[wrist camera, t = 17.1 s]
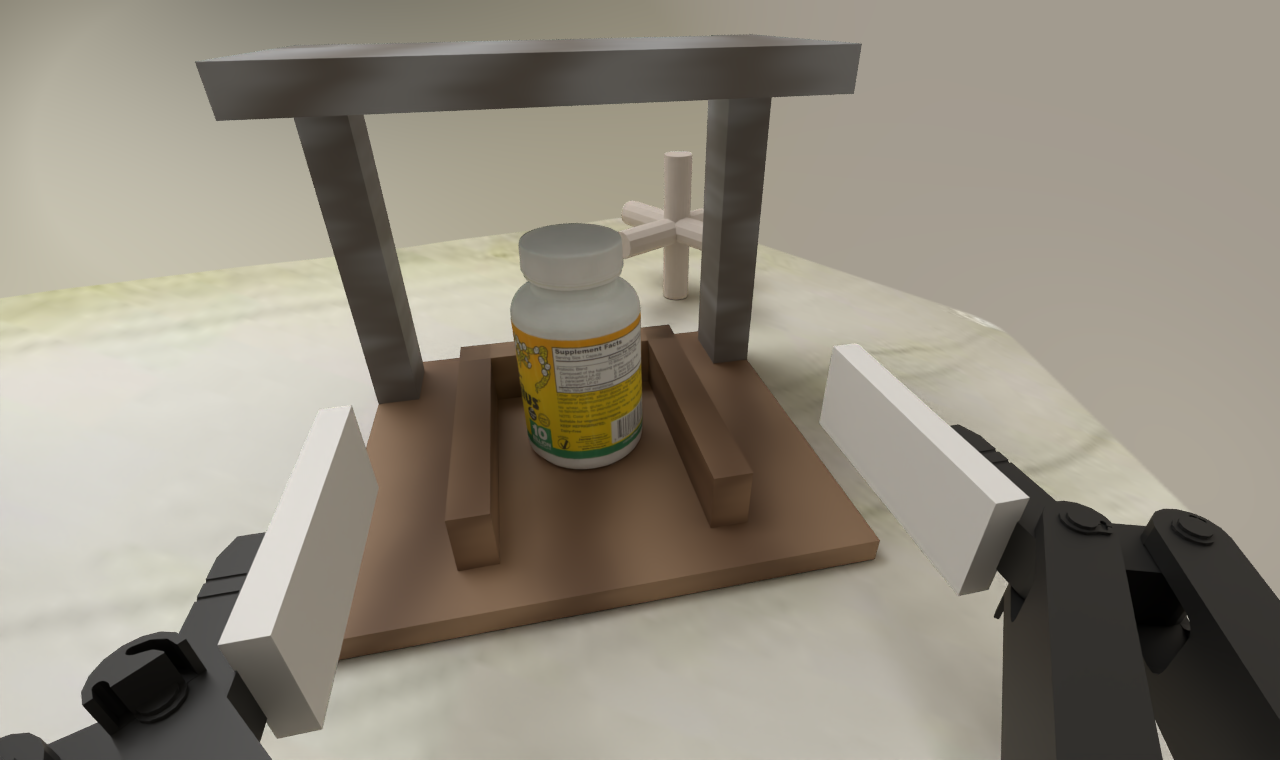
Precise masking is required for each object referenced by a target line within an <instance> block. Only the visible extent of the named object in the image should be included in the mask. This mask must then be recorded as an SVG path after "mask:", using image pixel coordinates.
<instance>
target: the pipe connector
mask: <svg viewBox="0 0 1280 760" xmlns="http://www.w3.org/2000/svg"><path fill="white" fill-rule="evenodd" d="M691 175H692V153H690V152H684V151H672V152H667V153H665V156H664V210H663V209H660V208H656V207H653V206H650V205H647V204H643V203H640V202H637V201H632V200H630V201H628V202H627V203H625V205H624V207H623V208H622V214H621V216H622V220H623V222H625V223H626V224H627V225H630V226H633V228H629V229H626V230H622V231H619V232H618V233H619V234H620V236H621V238H622V254H623V259H627V258H630V257H633V256H636V255H640V254H643V253H646V252H649V251H652V250H655V249H659V248H662V247H664V270H663V295H664V297H666V298H668V299H673V300H679V299H683V298H686V297H687V295H688V269H689V246H690V247H693V248H696V249H699V250H701V251H702V236H703V213H704V208H701V209H697V210H694V211H690V207H691V177H692V176H691Z"/></svg>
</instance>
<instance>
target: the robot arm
mask: <svg viewBox="0 0 1280 760" xmlns="http://www.w3.org/2000/svg"><path fill="white" fill-rule="evenodd" d="M819 424H820V425H821V426H822V427H823V429H824V430H825V431H826V432H827V434H828V435H829V436H830V437H831V439H832V440H833V441H834V442H835V444H836V445H837V446H838V447H839V449H840V450H841V451H842V452H843V453H844V455H845V456H846V457H847V458H848V460H849V461H850V462H851V463H852V465H853V466H854V467H855V468H856V470H857V471H858V472H859V473H860V475H861V476H862V477H863V478H864V480H865V481H866V482H867V483H868V485H869V486H870V487H871V488H872V490H873V491H874V492H875V493H876V495H877V496H878V497H879V498H880V500H881V501H882V502H883V503H884V504H885V506H886V507H887V508H888V509H889V511H890V512H891V513H892V514H893V516H894V517H895V518H896V519H897V521H898V522H899V523H900V524H901V526H902V527H903V528H904V529H905V531H906V532H907V533H908V534H909V536H910V537H911V538H912V539H913V541H914V542H915V543H916V544H917V546H918V547H919V548H920V549H921V551H922V552H923V553H924V554H925V555H926V557H927V558H928V559H929V560H930V562H931V563H932V564H933V565H934V567H935V568H936V569H937V570H938V572H939V573H940V574H941V575H942V577H943V578H944V579H945V580H946V582H947V583H948V584H949V585H950V587H951V588H952V589H953V590H954V592H955V593H956V594H957V595H958V596H961V595H965V594H970V593H975V592H980V591H984V590H989V587H990V585H991V583H992V581H993V578H994V576H995V574H996V572H997V571H998V572H999V573H1000V574H1001V575H1002V576H1003V577H1004V578H1005V579H1006V581H1007V582H1008V583H1009V584H1008V586H1007V588H1006V590H1005V592H1004V594H1003V596H1002V599H1001V601H1000V603H999V605H998V607H997V609H996V612H995V614H994V618H997V619H999V618H1000V616H1001V614H1002V612H1004V627H1003V682H1002V737H1001V760H1163V758H1162V753H1161V748H1160V743H1159V738H1158V733H1157V728H1156V723H1157V725H1158V727H1159V729H1160V731H1161V733H1162V735H1163V737H1164V740H1165V742H1166V744H1167V746H1168V748H1169V750H1170V752H1171V754H1172V756H1173V759H1174V760H1280V600H1279V599H1278V597H1277V596H1276V595H1275V594H1274V592H1273V591H1272V590H1271V588H1270V587H1269V586H1268V585H1267V583H1266V582H1265V581H1264V579H1263V578H1262V577H1261V576H1260V574H1259V573H1258V572H1257V570H1256V569H1255V568H1254V567H1253V565H1252V564H1251V563H1250V561H1249V560H1248V559H1247V558H1246V556H1245V555H1244V554H1243V552H1242V551H1241V550H1240V549H1239V547H1238V546H1237V545H1236V543H1235V542H1234V541H1233V540H1232V538H1231V537H1230V536H1228V534H1227V533H1226V532H1225V531H1223V530H1222V529H1221V528H1220V527H1218V526H1217V525H1215V524H1214V523H1212V522H1210V521H1209V520H1207V519H1205V518H1203V517H1201V516H1198V515H1196V514H1193V513H1190V512H1186V511H1182V510H1177V509H1162V510H1159V511H1156V512H1155V513H1154V514H1153V516H1152V517H1151V519H1150V521H1149V522H1148V524H1147V526H1137V525H1125V524H1113V523H1111V522H1110V521H1109V520H1108V519H1107V518H1106V517H1105V516H1103V515H1102V514H1100V513H1098V512H1097V511H1095V510H1093V509H1092V508H1089V507H1086V506H1084V505H1081V504H1078V503H1074V502H1068V501H1055V500H1054V499H1053V498H1052V497H1051V496H1050V495H1048V494H1047V493H1046V492H1045V491H1044V490H1043V489H1042V488H1040V487H1039V486H1038V485H1037V484H1036V483H1035V482H1033V481H1032V480H1031V479H1030V478H1029V477H1028V476H1026V475H1025V474H1024V473H1023V472H1022V471H1021V470H1019V469H1018V468H1017V467H1016V466H1015V465H1014V464H1012V463H1009V462H1008V459H1007V458H1006V457H1004V456H1003V455H1002V454H1001V453H1000V452H996V450H995V448H994V447H993V446H992V445H990V444H989V443H988V442H987V441H986V440H985V439H983V438H982V437H981V436H980V435H978V434H976V433H974V432H972V431H970V430H968V429H967V428H965V427H963V426H961V425H952V426H949V425H948V424H947V423H946V422H945V421H944V420H943V419H941V418H940V417H939V416H938V415H937V414H936V413H935V412H934V411H933V410H931V409H930V408H929V407H928V406H927V405H926V404H925V403H924V402H922V401H921V400H920V399H919V398H918V397H917V396H916V395H915V394H914V393H912V392H911V391H910V390H909V389H908V388H907V387H906V386H905V385H904V384H902V383H901V382H900V381H899V380H898V379H897V378H896V377H895V376H894V375H892V374H891V373H890V372H889V371H888V370H887V369H886V368H885V367H883V366H882V365H881V364H880V363H879V362H878V361H877V360H876V359H875V358H873V357H872V356H871V355H870V354H869V353H868V352H867V351H866V350H865V349H863V348H862V347H861V346H860V345H859V344H858V343H853V344H845V345H837V346H833V349H832V355H831V360H830V366H829V372H828V377H827V383H826V388H825V394H824V399H823V405H822V410H821V416H820V422H819ZM378 488H379V487H378V484H377V481H376V478H375V475H374V472H373V469H372V466H371V463H370V460H369V457H368V454H367V450H366V447H365V444H364V441H363V438H362V435H361V432H360V429H359V426H358V423H357V420H356V417H355V414H354V411H353V408H352V405H348V406H340V407H331V408H323V409H319V410H318V412H317V415H316V417H315V419H314V422H313V424H312V426H311V429H310V431H309V433H308V436H307V438H306V440H305V443H304V445H303V447H302V450H301V452H300V454H299V457H298V459H297V461H296V464H295V466H294V468H293V471H292V473H291V475H290V478H289V480H288V482H287V485H286V487H285V489H284V492H283V494H282V496H281V498H280V501H279V503H278V505H277V508H276V510H275V512H274V515H273V517H272V519H271V522H270V524H269V526H268V529H267V531H266V532H264V533H258V534H251V535H245V536H238V537H237V538H236V539H235V540H234V541H233V542H232V543H231V544H230V545H229V546H228V547H227V548H226V549H225V550H224V551H223V552H222V553H221V554H220V555H219V556H218V557H217V558H216V560H215V562H214V564H213V566H212V568H211V570H210V572H209V574H208V576H207V578H206V583H205V584H203V586H202V588H201V590H200V592H199V594H198V596H197V602H194V604H193V606H192V608H191V610H190V612H189V614H188V616H187V618H186V620H185V622H184V624H183V626H182V628H181V630H180V632H179V634H178V633H176V632H157V633H153V634H149V635H145V636H142V637H140V638H138V639H136V640H134V641H131V642H129V643H127V644H125V645H123V646H121V647H120V648H119V649H117V650H116V651H115V652H113V653H112V654H111V655H109V656H108V657H107V658H105V659H104V660H103V661H102V662H101V663H100V664H99V665H98V666H97V668H96V669H95V670H94V671H93V672H92V673H91V674H90V675H89V677H88V679H87V681H86V683H85V685H84V687H83V689H82V691H81V695H82V705H83V707H84V708H85V709H86V710H87V711H88V712H89V713H90V714H91V715H92V716H93V718H94V719H95V720H96V721H97V722H98V723H96V724H93V725H91V726H89V727H87V728H84V729H82V730H80V731H77V732H75V733H73V734H71V735H68V736H66V737H64V738H61V739H59V740H57V741H55V742H52V743H50V744H48V745H47V744H46V743H45V742H44V741H43V740H42V739H41V738H39V737H37V736H35V735H32V734H30V733H21V734H10V735H8V736H5V737H2V738H0V760H272V759H271V758H270V756H269V755H268V753H267V752H266V751H265V749H264V748H263V747H262V745H261V744H260V740H261V737H262V734H263V731H264V728H265V724H266V722H267V724H268V725H269V727H270V729H271V730H272V732H273V733H274V735H275V736H276V738H277V739H278V738H283V737H287V736H292V735H297V734H302V733H307V732H311V731H316V730H321V729H322V728H323V724H324V720H325V716H326V711H327V707H328V703H329V698H330V694H331V690H332V686H333V681H334V677H335V673H336V668H337V664H338V660H339V656H340V651H341V647H342V643H343V638H344V634H345V630H346V626H347V621H348V617H349V613H350V608H351V604H352V600H353V596H354V591H355V587H356V583H357V578H358V574H359V570H360V566H361V561H362V557H363V553H364V548H365V544H366V540H367V536H368V531H369V527H370V523H371V518H372V514H373V510H374V506H375V501H376V497H377V493H378ZM1186 616H1188V618H1189V620H1188V618H1187V617H1186ZM1189 621H1190V622H1189ZM1155 720H1156V723H1155Z"/></svg>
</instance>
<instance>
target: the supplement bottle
mask: <svg viewBox="0 0 1280 760" xmlns="http://www.w3.org/2000/svg"><path fill="white" fill-rule="evenodd" d="M519 255H520V267H521V271H522V273H523V274H524V277H525V278H526V280H527V281H528V282H526V283H525V284H524V285H523V286H521V287H520V288H519V290H518V291H517V292H516V294H515V295H514V297H513V300H512V303H511V308H510V312H511V323H512V329H513V336H514V343H515V349H516V356H517V363H518V370H519V378H520V384H521V392H522V399H523V406H524V412H525V419H526V427H527V432H528V438H529V442H530V444H531V446H532V448H533V449H534V451H535V452H536V453H537V454H539V455H540V456H541V457H543V458H544V459H546V460H547V461H549V462H551V463H553V464H555V465H557V466H560V467H565V468H570V469H592V468H598V467H603V466H607V465H610V464H612V463H614V462H616V461H618V460H620V459H622V458H623V457H625V456H626V455H628V454H629V453H630V452H631V451H632V450H633V449H634V448H635V447H636V445H637V443H638V442H639V440H640V437H641V433H642V420H643V419H642V416H643V412H642V375H641V313H640V301H639V297H638V295H637V293H636V291H635V289H634V288H633V287H632V286H631V285H630V284H629V283H628V282H627V281H626V280H624V279H623V278H621V277H619V275H620V274H621V271H622V268H623V264H624V263H623V254H622V238H621V236H620V234H619V233H618V232H617V231H615V230H613V229H611V228H608V227H605V226H600V225H595V224H581V223H569V224H557V225H550V226H545V227H541V228H537V229H534V230H531V231H529V232H527V233H525V234H524V235H523V236H522V237H521V238H520V240H519Z"/></svg>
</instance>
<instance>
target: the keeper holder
mask: <svg viewBox="0 0 1280 760" xmlns="http://www.w3.org/2000/svg"><path fill="white" fill-rule="evenodd" d="M861 45H862V44H859V43H846V42H836V41H824V40H811V39H799V38H788V37H776V36H764V35H751V34H750V35H711V36H688V37H687V36H685V37H684V36H683V37H644V38H601V39H600V38H598V39H561V40H560V39H558V40H557V39H556V40H514V41H473V42H430V43H389V44H388V43H387V44H324V45H293V46H287V47H282V48H276V49H270V50H263V51H257V52H251V53H245V54H239V55H233V56H227V57H221V58H215V59H209V60H203V61H197V62H195V63H196V66H197V69H198V71H199V74H200V77H201V80H202V83H203V85H204V88H205V91H206V94H207V96H208V99H209V102H210V105H211V107H212V110H213V113H214V116H215V118H216V121H223V120H247V119H269V118H294V121H295V124H296V127H297V131H298V134H299V138H300V141H301V144H302V148H303V151H304V154H305V157H306V161H307V164H308V168H309V171H310V175H311V178H312V181H313V185H314V188H315V191H316V195H317V198H318V201H319V205H320V208H321V211H322V215H323V218H324V221H325V225H326V228H327V231H328V235H329V238H330V242H331V245H332V248H333V252H334V255H335V259H336V262H337V265H338V269H339V272H340V275H341V279H342V282H343V285H344V289H345V292H346V296H347V299H348V302H349V306H350V309H351V312H352V316H353V319H354V322H355V326H356V329H357V333H358V336H359V339H360V343H361V346H362V349H363V353H364V356H365V359H366V363H367V366H368V370H369V373H370V376H371V380H372V383H373V386H374V390H375V393H376V396H377V400H378V403H379V405H378V409H377V412H376V416H375V419H374V422H373V426H372V429H371V433H370V436H369V440H368V443H367V447H366V450H367V454H368V457H369V460H370V463H371V466H372V469H373V472H374V475H375V478H376V481H377V484H378V487H379V488H378V493H377V497H376V501H375V506H374V510H373V514H372V518H371V523H370V527H369V531H368V536H367V540H366V544H365V548H364V553H363V557H362V561H361V566H360V570H359V574H358V578H357V583H356V587H355V591H354V596H353V600H352V604H351V608H350V613H349V617H348V621H347V626H346V630H345V634H344V638H343V643H342V647H341V651H340V656H339V660H342V659H347V658H352V657H357V656H363V655H368V654H373V653H379V652H384V651H389V650H394V649H400V648H405V647H410V646H416V645H421V644H426V643H432V642H437V641H442V640H447V639H453V638H458V637H463V636H469V635H474V634H479V633H485V632H490V631H495V630H500V629H506V628H511V627H516V626H522V625H527V624H532V623H538V622H543V621H548V620H553V619H559V618H564V617H569V616H575V615H580V614H585V613H590V612H596V611H601V610H606V609H612V608H617V607H622V606H628V605H633V604H638V603H643V602H649V601H654V600H659V599H665V598H670V597H675V596H681V595H686V594H691V593H696V592H702V591H707V590H712V589H718V588H723V587H728V586H733V585H739V584H744V583H749V582H755V581H760V580H765V579H771V578H776V577H781V576H786V575H792V574H797V573H802V572H808V571H813V570H818V569H824V568H829V567H834V566H839V565H845V564H850V563H855V562H861V561H866V560H871V559H875V556H876V552H877V549H878V545H879V542H880V540H879V539H878V537H877V536H876V535H875V533H874V532H873V530H872V529H871V528H870V526H869V525H868V524H867V522H866V521H865V520H864V518H863V517H862V516H861V514H860V513H859V511H858V510H857V509H856V507H855V506H854V505H853V503H852V502H851V501H850V499H849V498H848V496H847V495H846V494H845V492H844V491H843V490H842V488H841V487H840V486H839V484H838V483H837V482H836V480H835V479H834V477H833V476H832V475H831V473H830V472H829V471H828V469H827V468H826V467H825V465H824V464H823V462H822V461H821V460H820V458H819V457H818V456H817V454H816V453H815V452H814V450H813V449H812V448H811V446H810V445H809V443H808V442H807V441H806V439H805V438H804V437H803V435H802V434H801V433H800V431H799V430H798V428H797V427H796V426H795V424H794V423H793V422H792V420H791V419H790V418H789V416H788V415H787V414H786V412H785V411H784V409H783V408H782V407H781V405H780V404H779V403H778V401H777V400H776V399H775V397H774V396H773V394H772V393H771V392H770V390H769V389H768V388H767V386H766V385H765V384H764V382H763V381H762V380H761V378H760V377H759V375H758V374H757V373H756V371H755V370H754V369H753V367H752V366H751V365H750V363H749V362H748V360H747V352H748V341H749V331H750V320H751V309H752V299H753V288H754V278H755V267H756V256H757V246H758V234H759V224H760V214H761V203H762V193H763V182H764V172H765V161H766V150H767V140H768V129H769V118H770V108H771V98H772V97H787V96H810V95H832V94H833V95H834V94H854V89H855V82H856V76H857V70H858V64H859V58H860V52H861ZM693 100H708V120H707V143H706V144H707V145H706V166H705V190H704V213H703V236H702V259H701V282H700V305H699V328H698V331H697V332H688V333H679V334H674V333H673V331H672V329H671V328H670V326H669V325H661V326H652V327H643V328H641V375H642V412H643V416H642V419H643V420H642V433H641V437H640V440H639V442H638V443H637V445H636V447H635V448H634V449H633V450H632V451H631V452H630V453H629V454H628V455H626V456H625V457H623V458H622V459H620V460H618V461H616V462H614V463H612V464H610V465H607V466H603V467H598V468H592V469H570V468H565V467H560V466H557V465H555V464H553V463H551V462H549V461H547V460H546V459H544V458H543V457H541V456H540V455H539V454H537V453H536V452H535V451H534V449H533V448H532V446H531V444H530V442H529V438H528V432H527V427H526V419H525V412H524V406H523V399H522V392H521V384H520V378H519V370H518V363H517V356H516V349H515V343H514V342H505V343H495V344H486V345H477V346H468V347H461V350H460V358H455V359H446V360H437V361H428V362H423V361H422V357H421V353H420V349H419V345H418V341H417V336H416V332H415V328H414V324H413V320H412V315H411V311H410V307H409V303H408V299H407V295H406V290H405V286H404V282H403V278H402V274H401V270H400V265H399V261H398V257H397V253H396V249H395V244H394V241H393V236H392V232H391V228H390V224H389V220H388V215H387V211H386V207H385V203H384V199H383V194H382V190H381V186H380V182H379V178H378V173H377V169H376V165H375V161H374V157H373V153H372V148H371V144H370V140H369V136H368V132H367V128H366V123H365V119H364V114H387V113H410V112H435V111H457V110H481V109H502V108H503V109H505V108H527V107H551V106H573V105H599V104H622V103H646V102H669V101H693Z"/></svg>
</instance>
